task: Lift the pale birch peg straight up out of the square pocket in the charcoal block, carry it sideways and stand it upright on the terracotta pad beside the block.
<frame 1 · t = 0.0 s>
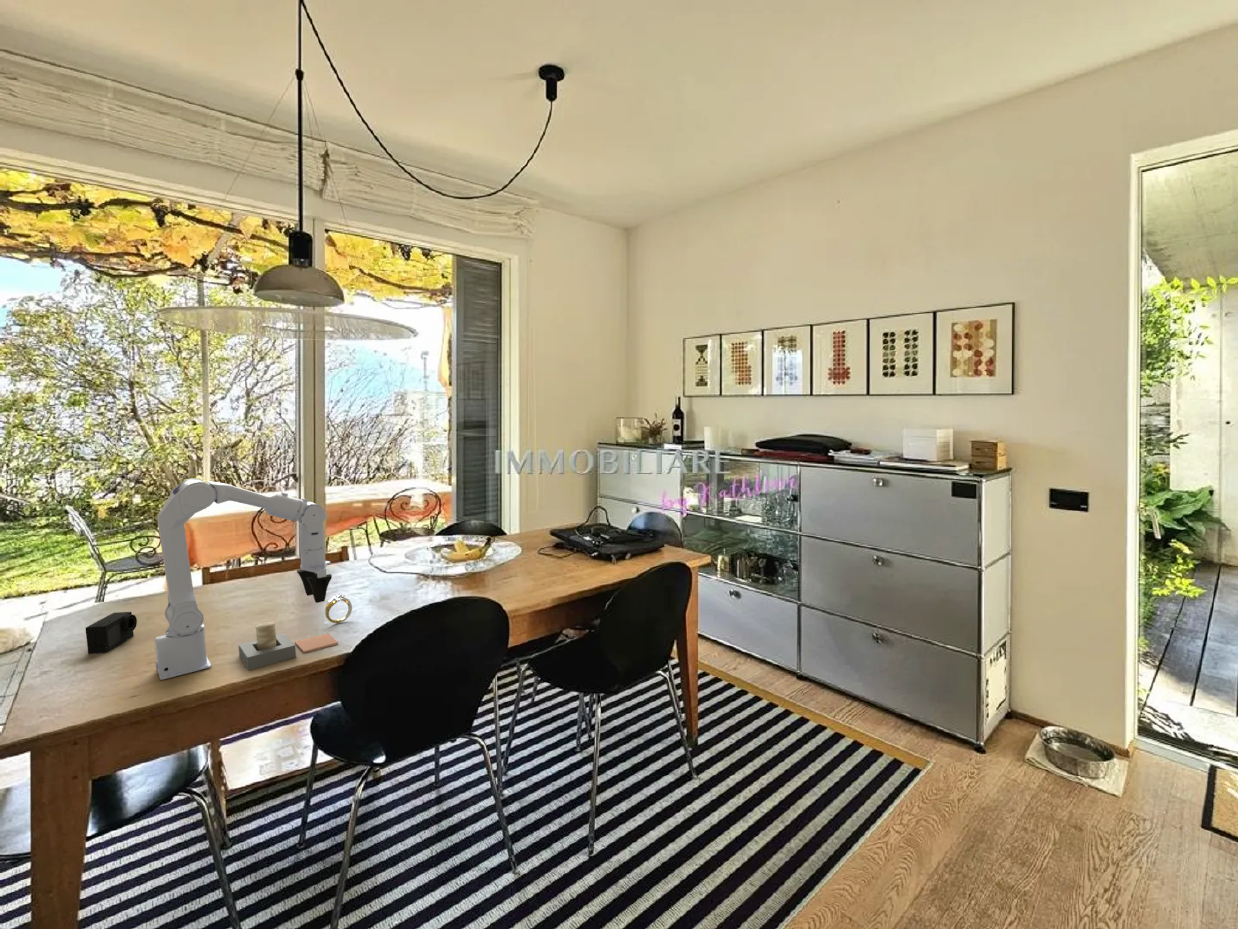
hand: (315, 598, 154), 10 cm above the table, tool pointing down, fingers open, 7 cm apart
pocket block: (267, 656, 142), on the table
peg: (266, 641, 142), in the pocket block
pad: (316, 643, 150), on the table
ring: (339, 623, 164), on the table
digital camera: (114, 645, 149), on the table
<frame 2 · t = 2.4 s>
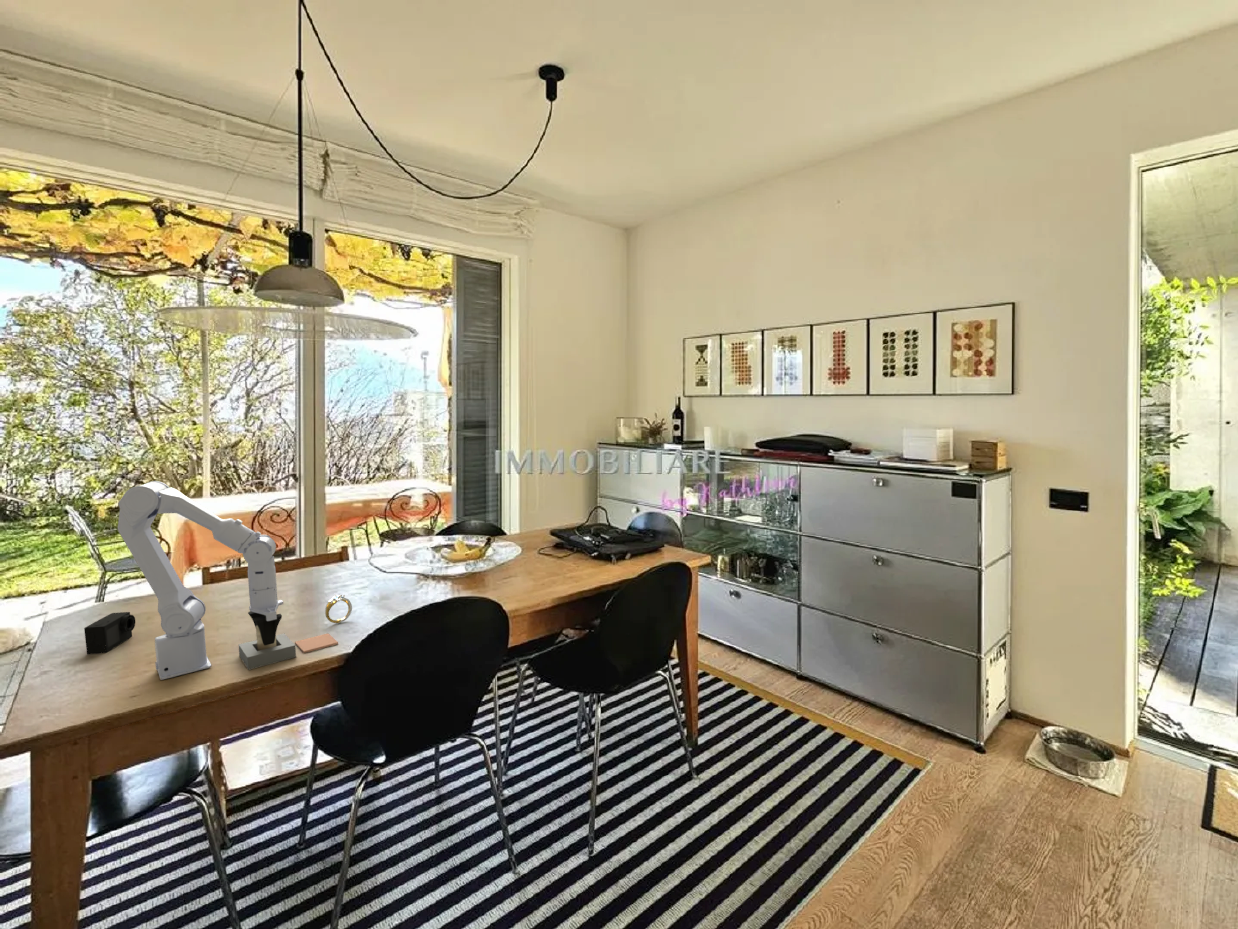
hand: (266, 641, 142), 4 cm above the table, tool pointing down, fingers closed on peg, 4 cm apart
peg: (266, 640, 142), in the pocket block, touching gripper
everything else where it was.
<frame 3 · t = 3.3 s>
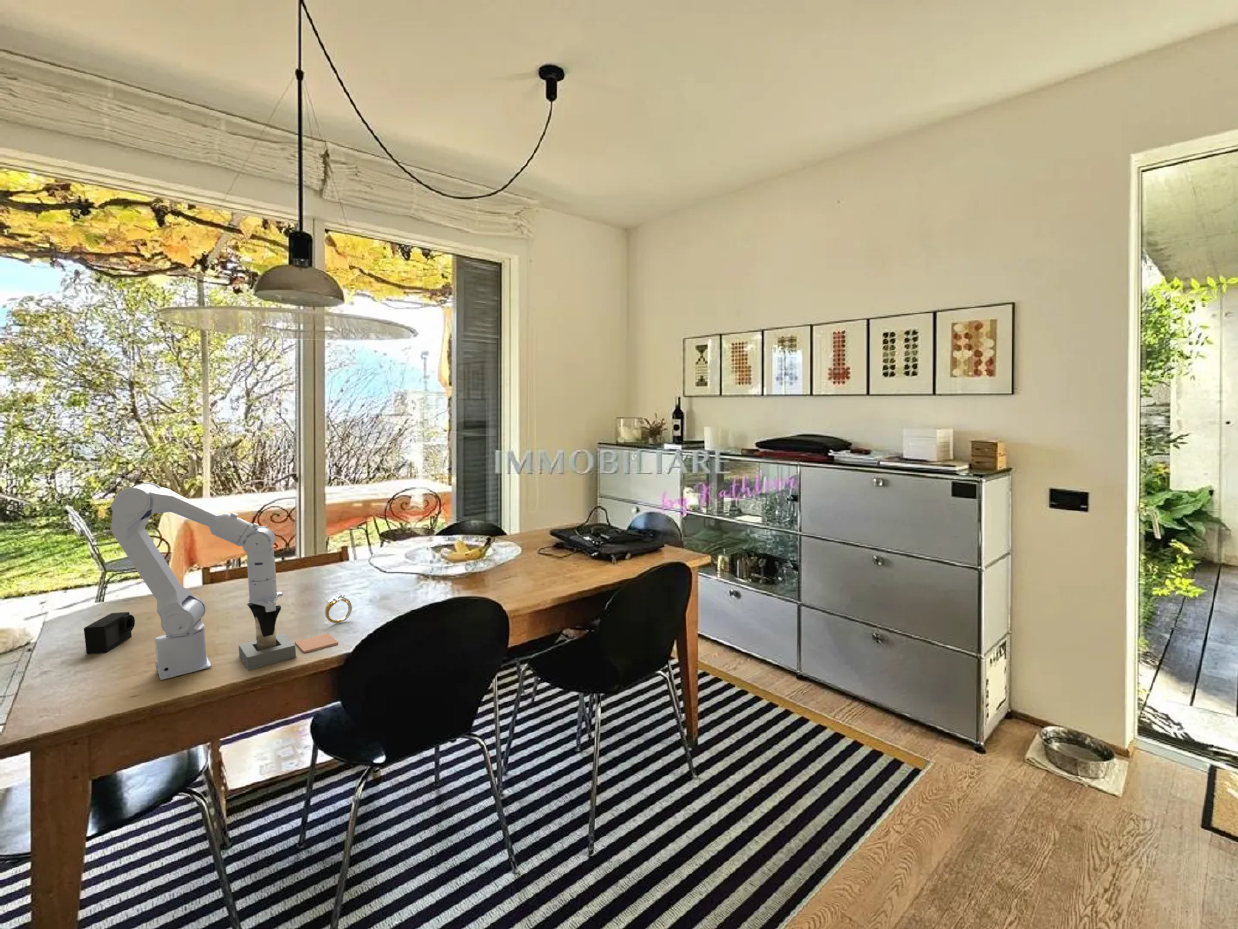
hand: (265, 632, 141), 6 cm above the table, tool pointing down, fingers closed on peg, 4 cm apart
peg: (265, 632, 141), point 6 cm above the table, touching gripper
everything else where it was.
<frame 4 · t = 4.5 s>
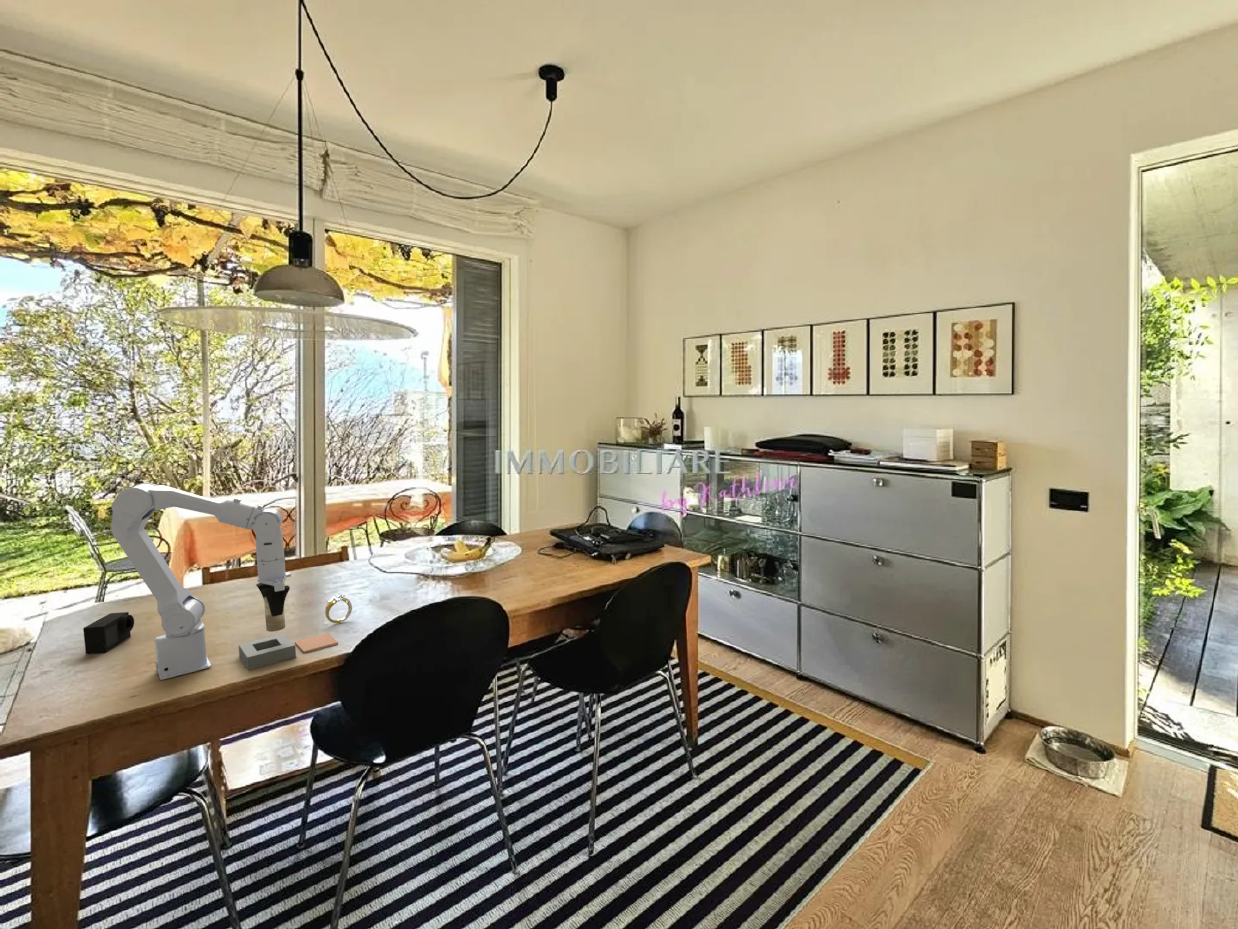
hand: (274, 612, 142), 11 cm above the table, tool pointing down, fingers closed on peg, 4 cm apart
peg: (274, 612, 142), point 11 cm above the table, touching gripper
everything else where it was.
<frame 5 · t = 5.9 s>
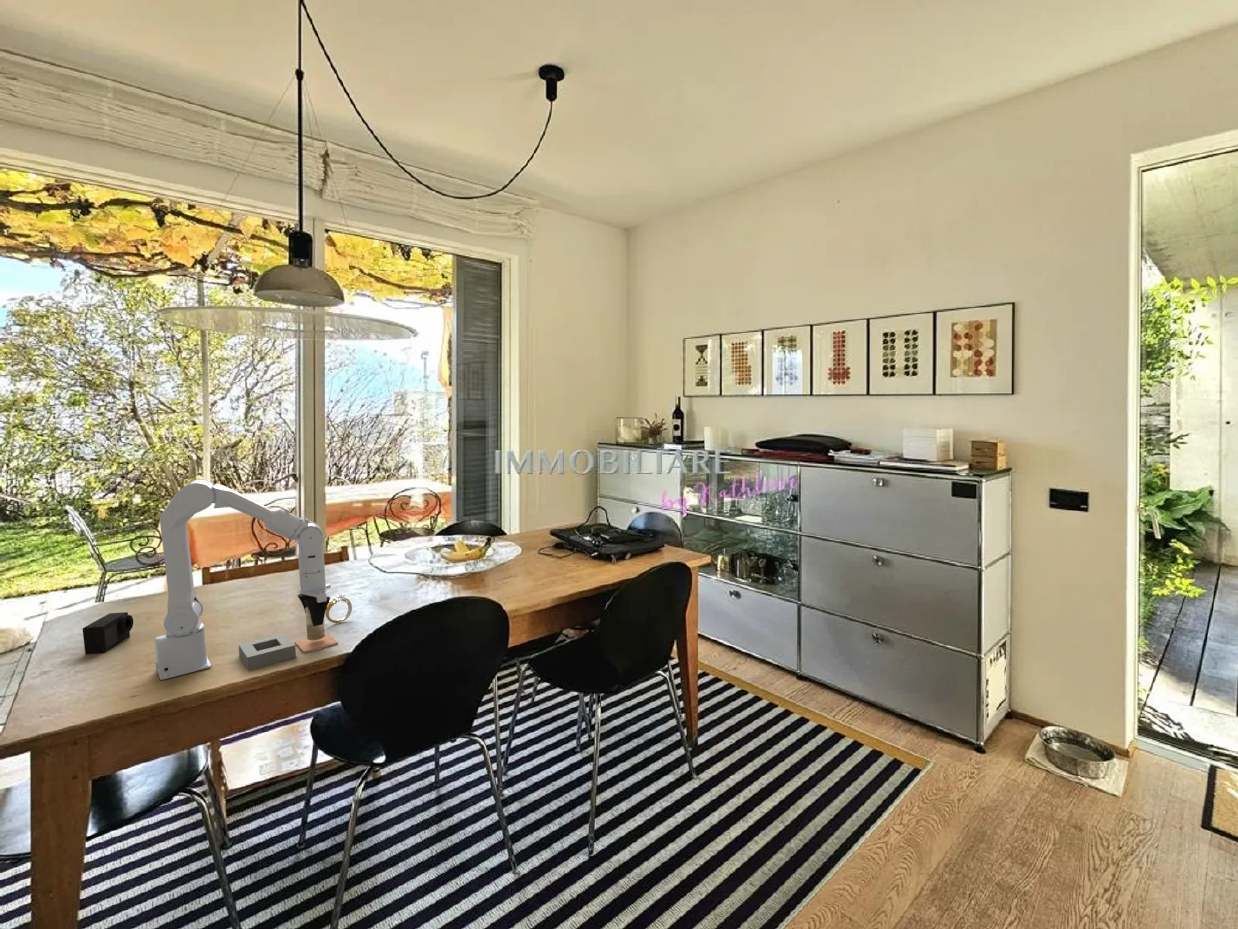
hand: (315, 622, 149), 6 cm above the table, tool pointing down, fingers closed on peg, 4 cm apart
peg: (315, 622, 149), point 6 cm above the table, touching gripper
everything else where it was.
when the fingers open (5 cm above the table, at t = 6.8 s): peg stays where it is, resting on pad.
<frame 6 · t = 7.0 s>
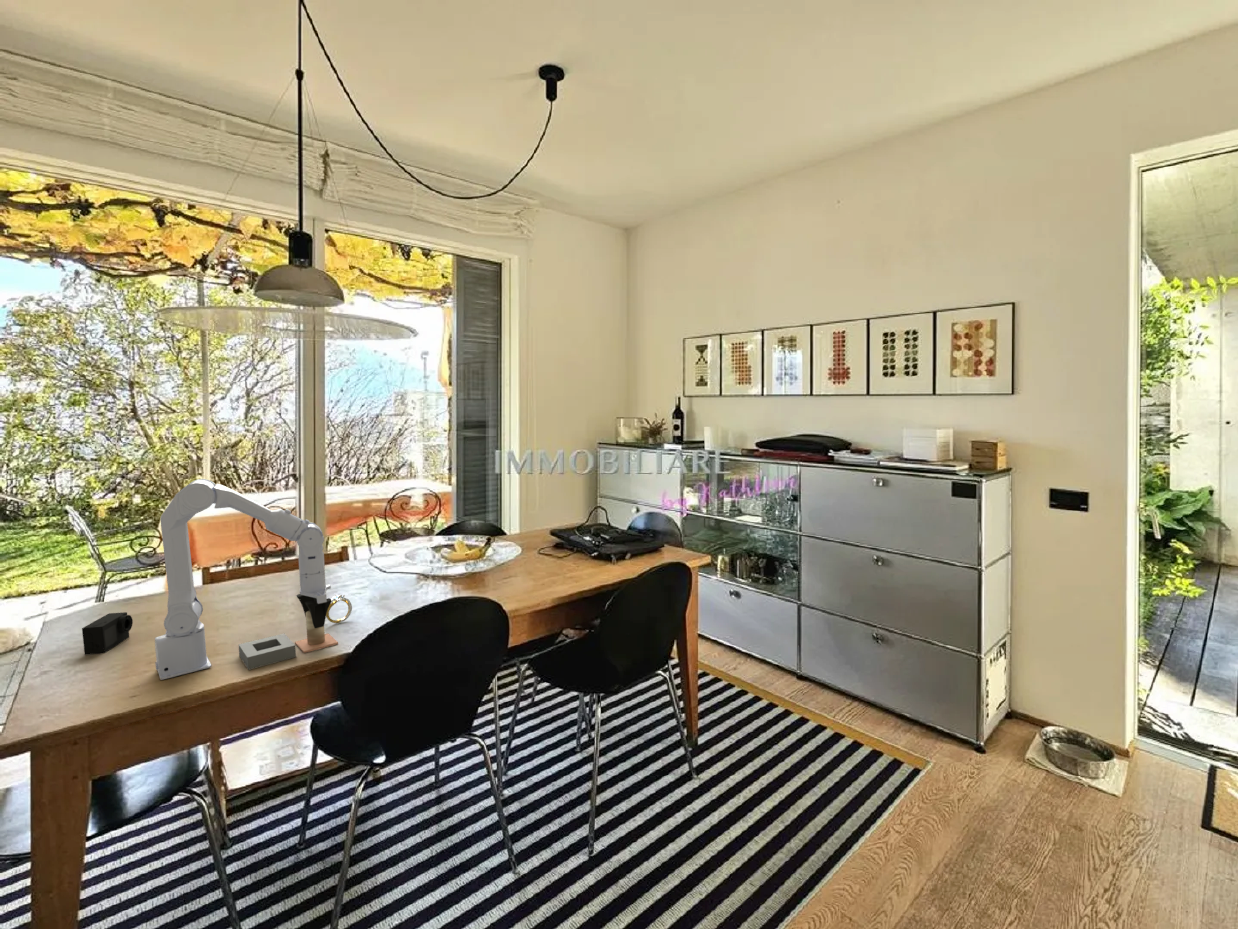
hand: (315, 623, 149), 5 cm above the table, tool pointing down, fingers open, 6 cm apart
peg: (315, 627, 149), on the pad
everything else where it was.
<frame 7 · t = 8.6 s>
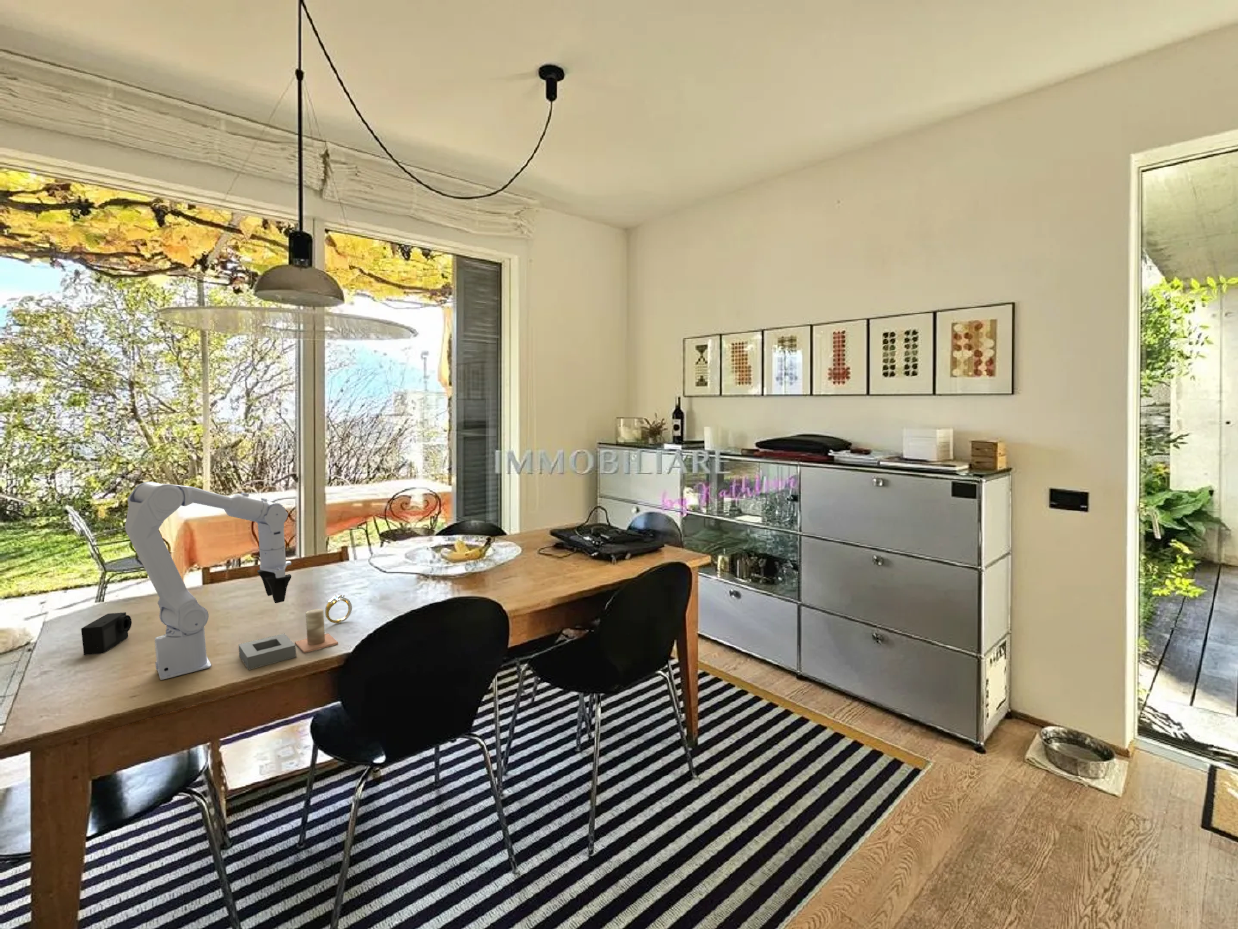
hand: (275, 598, 153), 10 cm above the table, tool pointing down, fingers open, 7 cm apart
nothing on the table moved.
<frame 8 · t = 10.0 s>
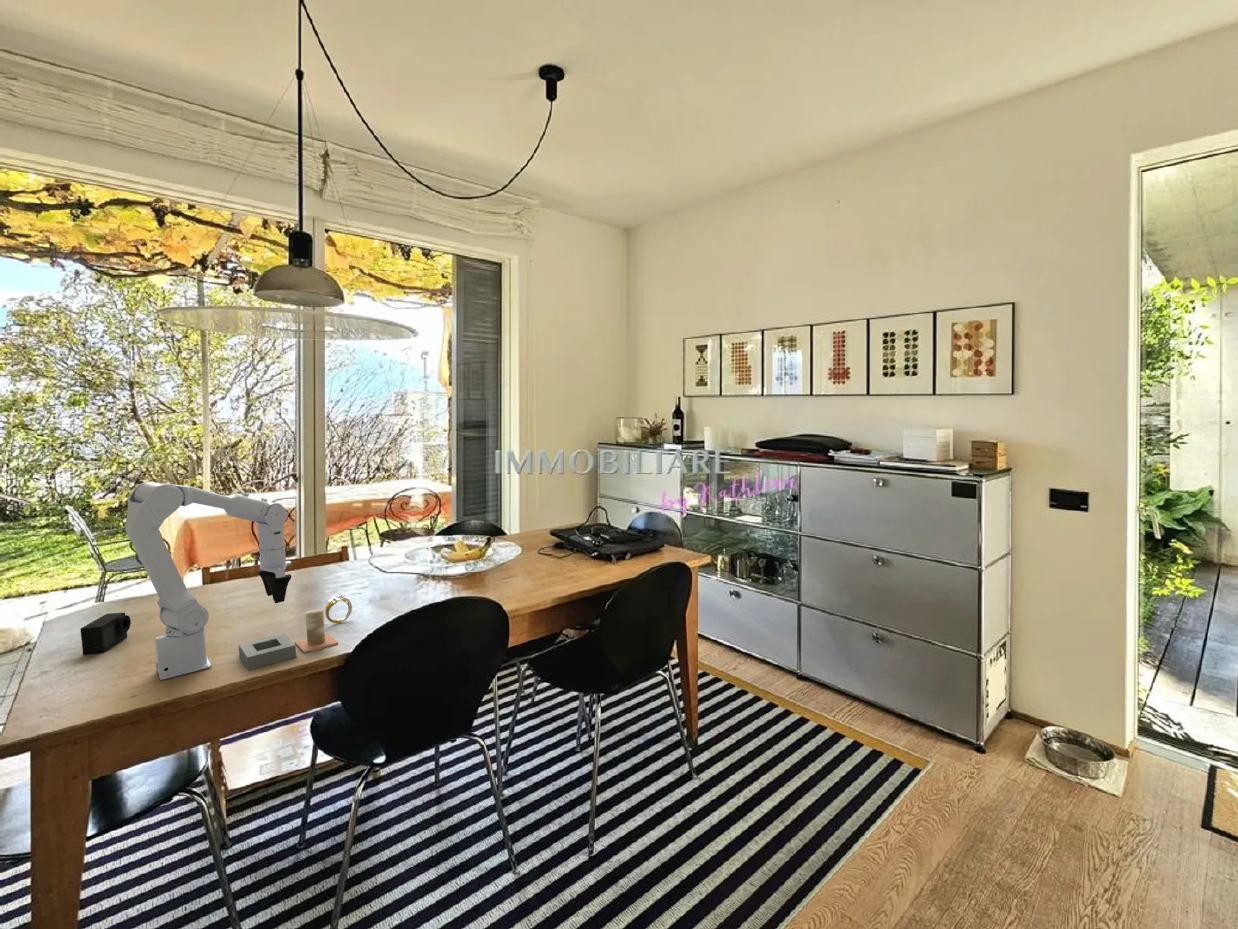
hand: (275, 598, 153), 10 cm above the table, tool pointing down, fingers open, 7 cm apart
at the end: peg 0.0 cm off-centre on the pad, point 4.5 cm above the pad's base; peg tilted 0°; the gripper is holding nothing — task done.
